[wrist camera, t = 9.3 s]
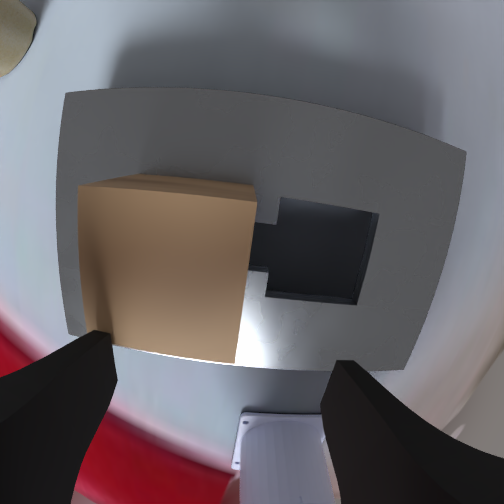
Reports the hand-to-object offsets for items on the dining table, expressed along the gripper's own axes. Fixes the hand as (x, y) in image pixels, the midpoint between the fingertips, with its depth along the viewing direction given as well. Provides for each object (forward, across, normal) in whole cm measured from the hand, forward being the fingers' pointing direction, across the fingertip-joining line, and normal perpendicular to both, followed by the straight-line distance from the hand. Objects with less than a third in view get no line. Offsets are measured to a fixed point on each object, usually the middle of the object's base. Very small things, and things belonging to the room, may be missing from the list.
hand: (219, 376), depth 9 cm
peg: (+8, +2, -3) cm, 8 cm away
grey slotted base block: (+10, -1, -3) cm, 10 cm away
